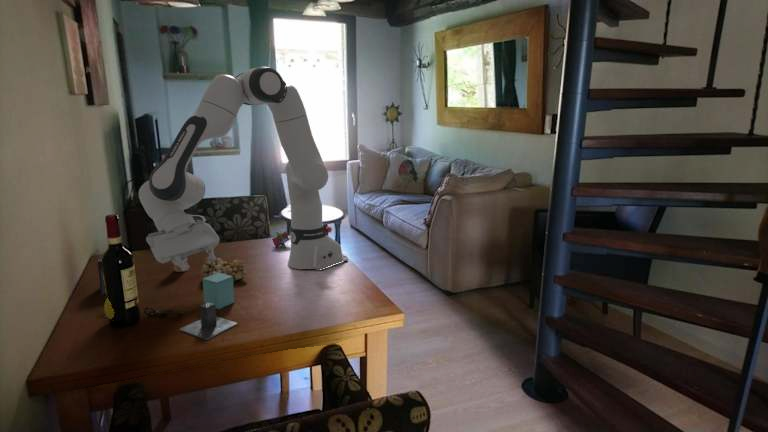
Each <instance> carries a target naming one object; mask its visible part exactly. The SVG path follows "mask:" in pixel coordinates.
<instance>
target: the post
mask: <svg viewBox="0 0 768 432" xmlns="http://www.w3.org/2000/svg"><path fill="white" fill-rule="evenodd" d="M216 311H217V310H216V308H215V304H213V303H209V302H207V303H205V304H204V303H202V304H200V305H199V312H200V319H198V320H195V321H194V322H191V323H190V324H187V325H185V326H183V327H181V328H179V331H180V332H182V333H186V334H189V335H191V336H194V337H197V338H199V339H201V340H204V341H209V340H210V339H213V338H214V337H217V336H218V335H220V334H222V333H224V332H226V331H228V330H230V329H232V328H234V327H236V326H238V325H239V323H238V322H236V321H232V320H229V319H226V318H223V317H220V316H217V312H216Z"/></svg>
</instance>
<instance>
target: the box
mask: <svg viewBox="0 0 768 432" xmlns="http://www.w3.org/2000/svg"><path fill="white" fill-rule="evenodd" d="M104 254H105V253H100V254H99V257H98V260H97V269H98V270H97V271H98V278H99V288H100V289H99V290H100V294H101V295H106V294H105V285H104V280H103V274H102V258H103V255H104Z"/></svg>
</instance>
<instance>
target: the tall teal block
mask: <svg viewBox="0 0 768 432" xmlns="http://www.w3.org/2000/svg"><path fill="white" fill-rule="evenodd" d="M202 288H203V289H202V291H203V304H205V303H207V302H209V303H213V304H215V308H216V309H217V310H221V309H223V308H224V307H227V306H229V305H231V304H233V303H235V291H234V288H235V287H234V281H233V276H230V275H226V274H222V273H216V274H214V275H211V276H208V277H206V276H204V277H203V278H202Z"/></svg>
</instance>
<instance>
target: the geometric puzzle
mask: <svg viewBox="0 0 768 432" xmlns="http://www.w3.org/2000/svg"><path fill="white" fill-rule="evenodd" d="M280 232H281V233H280ZM275 235H276V236H274V237H272V243H273V245H274V247H275V249H278V248H280V247H284V248H287V245H286V243H288V242H289V241H291V240H290V234H288V233H287V231H283V232H282V231H279V232H278V231H275Z"/></svg>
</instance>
